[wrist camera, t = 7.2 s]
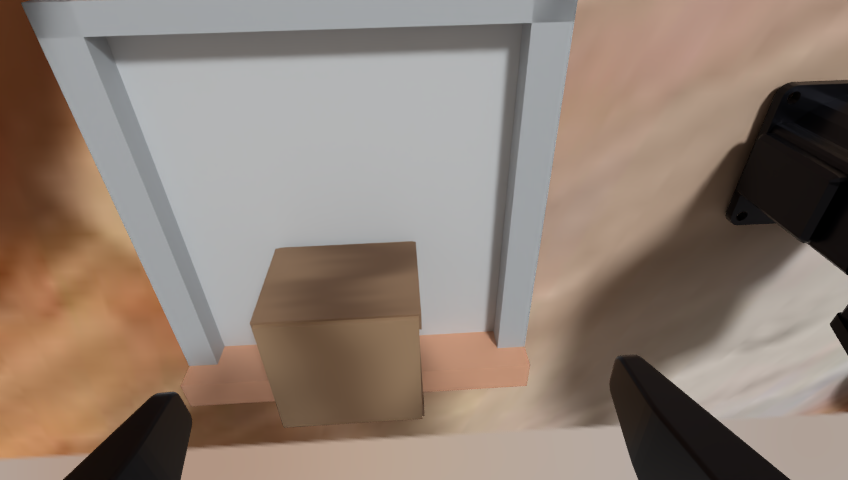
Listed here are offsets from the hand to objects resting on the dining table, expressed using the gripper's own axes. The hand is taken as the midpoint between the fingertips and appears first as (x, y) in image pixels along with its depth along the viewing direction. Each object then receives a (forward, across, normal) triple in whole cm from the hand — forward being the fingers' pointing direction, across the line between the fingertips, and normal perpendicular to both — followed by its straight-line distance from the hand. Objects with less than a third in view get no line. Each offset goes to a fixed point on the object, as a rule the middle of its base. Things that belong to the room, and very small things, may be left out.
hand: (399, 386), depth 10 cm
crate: (+12, +3, +7) cm, 14 cm away
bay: (+12, +3, +3) cm, 12 cm away
